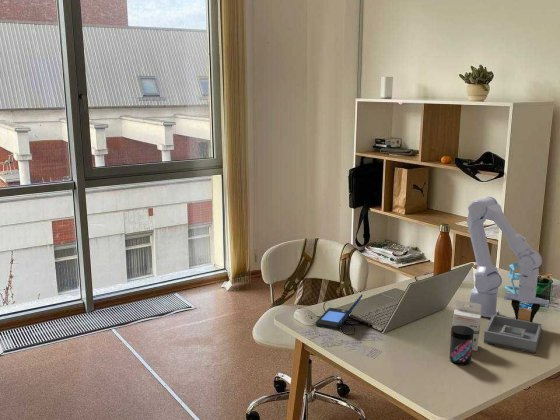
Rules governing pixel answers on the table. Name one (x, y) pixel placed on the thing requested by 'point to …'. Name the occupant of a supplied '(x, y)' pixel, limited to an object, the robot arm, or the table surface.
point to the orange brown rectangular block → (524, 314)
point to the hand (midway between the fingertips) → (524, 321)
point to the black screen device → (335, 317)
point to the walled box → (523, 344)
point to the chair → (513, 278)
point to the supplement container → (461, 344)
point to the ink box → (468, 319)
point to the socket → (513, 331)
